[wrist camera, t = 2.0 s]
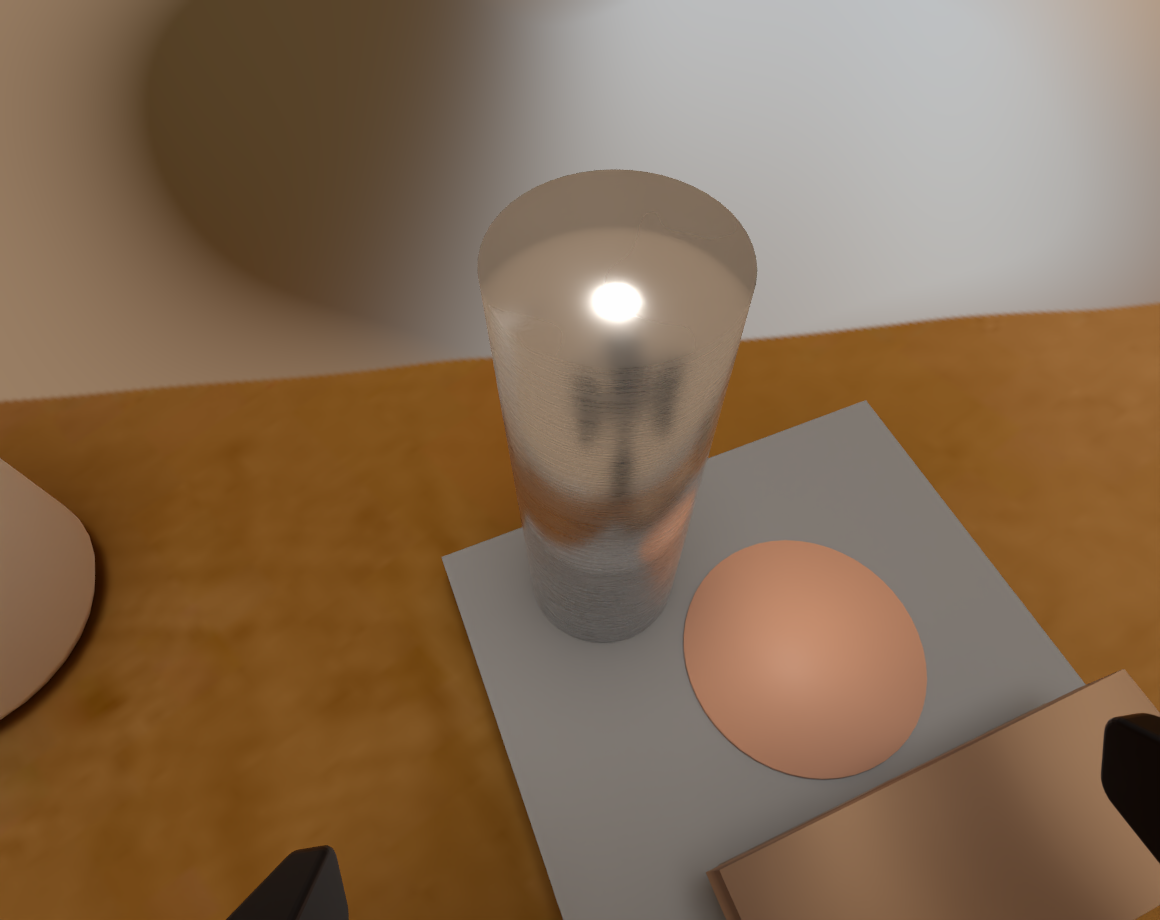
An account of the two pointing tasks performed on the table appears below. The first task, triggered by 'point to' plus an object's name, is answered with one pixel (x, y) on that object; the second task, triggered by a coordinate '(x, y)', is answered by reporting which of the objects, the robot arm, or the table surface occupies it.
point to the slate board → (752, 669)
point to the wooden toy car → (968, 833)
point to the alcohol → (39, 586)
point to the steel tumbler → (611, 380)
